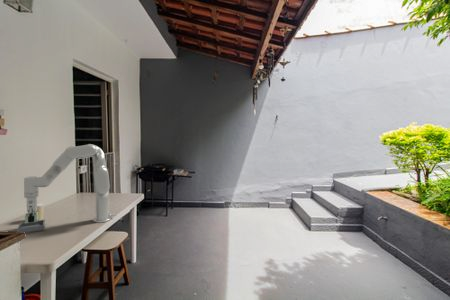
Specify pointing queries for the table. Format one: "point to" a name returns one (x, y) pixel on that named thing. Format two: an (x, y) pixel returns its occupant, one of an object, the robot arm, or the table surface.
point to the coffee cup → (40, 210)
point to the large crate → (31, 226)
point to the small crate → (34, 217)
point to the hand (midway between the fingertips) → (31, 220)
